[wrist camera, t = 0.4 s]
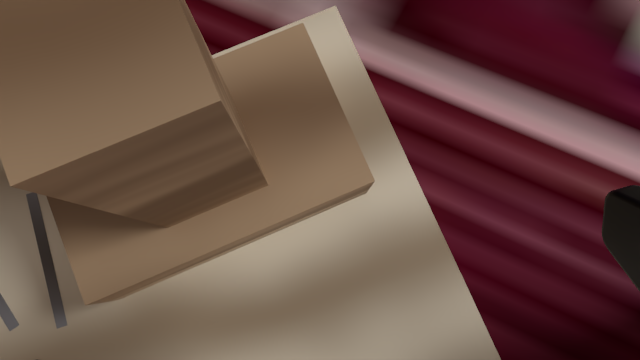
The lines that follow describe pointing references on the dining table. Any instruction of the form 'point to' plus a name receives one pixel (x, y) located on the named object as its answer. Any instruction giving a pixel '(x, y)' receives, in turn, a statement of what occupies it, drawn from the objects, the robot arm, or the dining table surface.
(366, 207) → the birch board
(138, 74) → the block
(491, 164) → the dining table surface
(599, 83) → the dining table surface
